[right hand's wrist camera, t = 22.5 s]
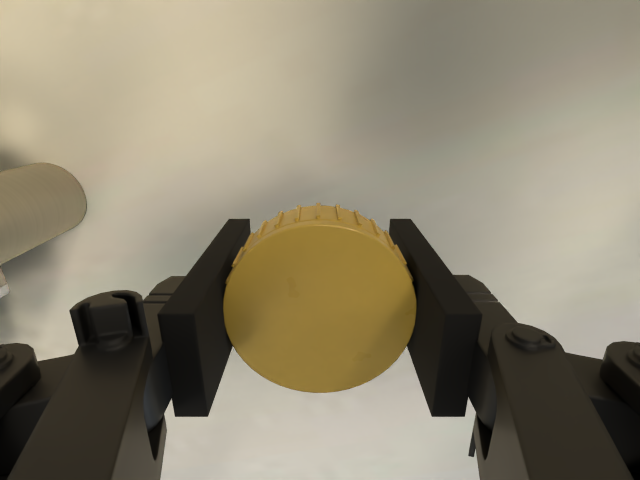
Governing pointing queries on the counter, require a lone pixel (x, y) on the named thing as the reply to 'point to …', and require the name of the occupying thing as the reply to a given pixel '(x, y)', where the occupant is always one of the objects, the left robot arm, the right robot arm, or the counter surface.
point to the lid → (319, 300)
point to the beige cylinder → (37, 207)
